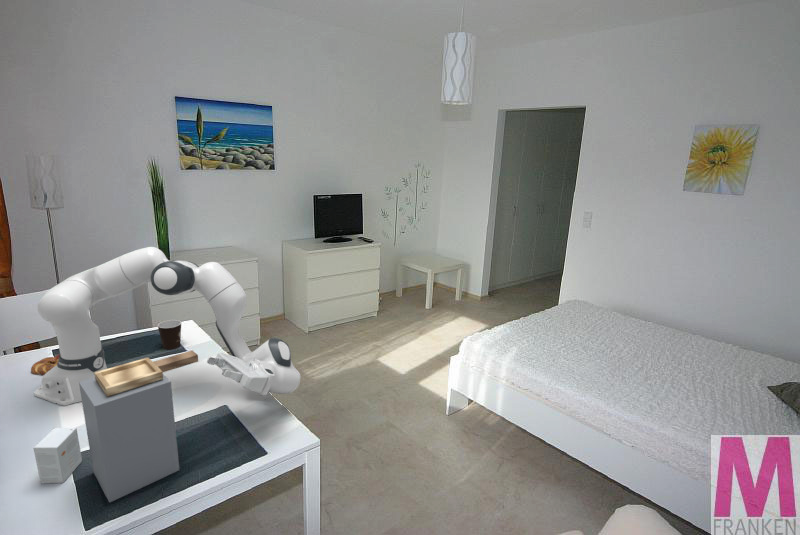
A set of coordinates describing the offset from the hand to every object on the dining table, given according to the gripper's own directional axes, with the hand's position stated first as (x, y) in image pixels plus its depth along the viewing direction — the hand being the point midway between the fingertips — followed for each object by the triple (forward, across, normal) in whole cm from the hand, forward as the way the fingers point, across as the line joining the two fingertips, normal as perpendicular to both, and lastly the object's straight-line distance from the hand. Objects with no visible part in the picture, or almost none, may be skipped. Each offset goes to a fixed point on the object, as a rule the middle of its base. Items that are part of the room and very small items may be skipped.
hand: (216, 366), depth 126 cm
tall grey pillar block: (+8, 0, +30) cm, 32 cm away
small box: (+20, -12, +38) cm, 44 cm away
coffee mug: (-22, -69, +13) cm, 73 cm away
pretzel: (+12, -77, +34) cm, 84 cm away
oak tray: (+16, 0, +5) cm, 17 cm away
